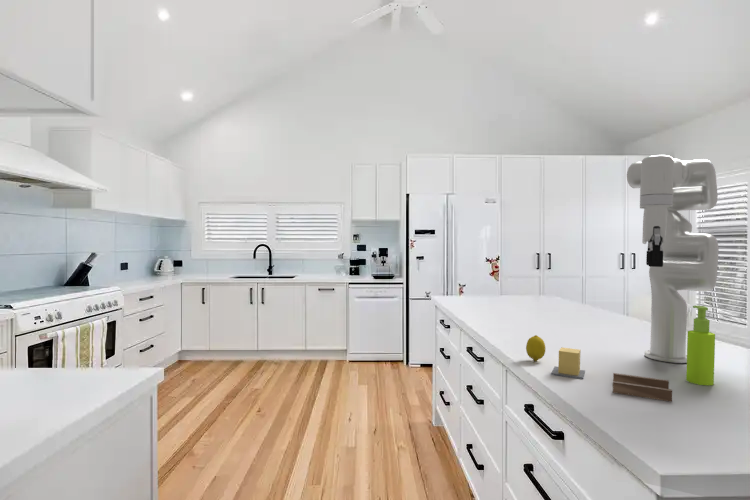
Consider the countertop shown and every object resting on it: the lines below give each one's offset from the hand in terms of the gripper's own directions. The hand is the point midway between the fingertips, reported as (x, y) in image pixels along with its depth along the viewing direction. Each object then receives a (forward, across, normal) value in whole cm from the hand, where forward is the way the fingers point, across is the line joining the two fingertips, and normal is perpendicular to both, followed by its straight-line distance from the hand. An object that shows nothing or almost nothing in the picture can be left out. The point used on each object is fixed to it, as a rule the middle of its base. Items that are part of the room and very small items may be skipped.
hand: (654, 265), depth 121 cm
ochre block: (+30, +8, -20) cm, 37 cm away
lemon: (+31, -1, -30) cm, 43 cm away
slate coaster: (+30, +8, -20) cm, 37 cm away
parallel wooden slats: (+30, +15, -3) cm, 34 cm away
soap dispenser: (+31, -3, +11) cm, 33 cm away
